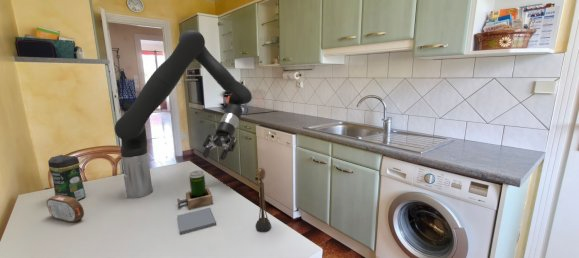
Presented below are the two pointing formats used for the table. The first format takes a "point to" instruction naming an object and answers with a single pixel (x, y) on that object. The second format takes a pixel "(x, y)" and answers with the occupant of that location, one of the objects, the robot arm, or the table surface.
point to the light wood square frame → (197, 200)
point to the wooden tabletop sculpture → (262, 204)
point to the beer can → (197, 184)
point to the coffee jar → (66, 176)
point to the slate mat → (195, 220)
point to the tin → (65, 208)
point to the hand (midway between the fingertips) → (213, 158)
